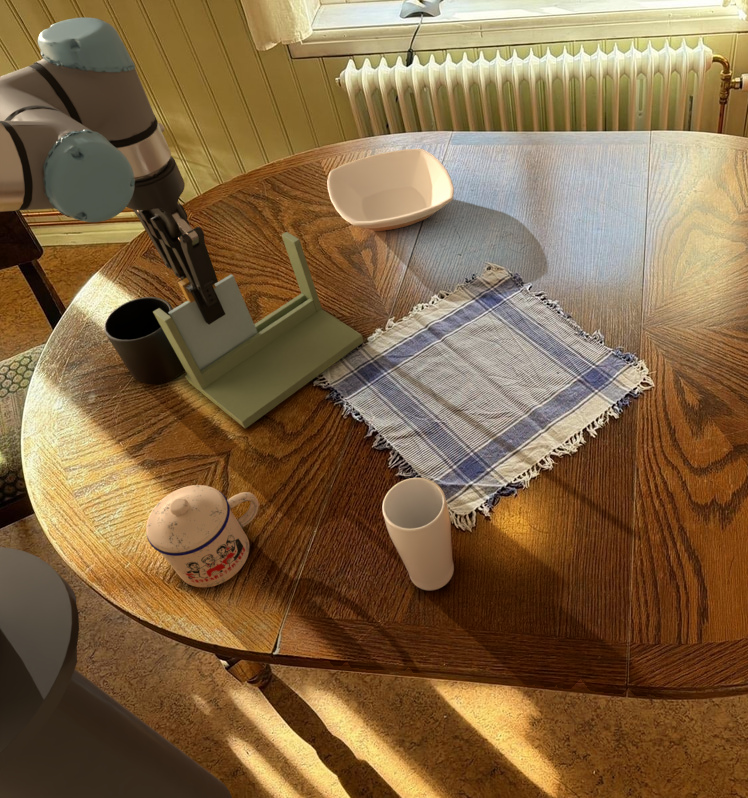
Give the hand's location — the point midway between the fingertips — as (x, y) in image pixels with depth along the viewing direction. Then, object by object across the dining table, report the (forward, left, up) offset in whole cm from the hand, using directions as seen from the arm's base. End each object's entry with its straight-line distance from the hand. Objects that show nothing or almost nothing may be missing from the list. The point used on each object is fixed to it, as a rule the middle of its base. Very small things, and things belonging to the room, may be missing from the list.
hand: (211, 315), depth 104 cm
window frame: (+5, -4, -11) cm, 12 cm away
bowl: (+43, +11, -11) cm, 45 cm away
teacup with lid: (-19, -25, -11) cm, 33 cm away
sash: (0, 0, -9) cm, 9 cm away
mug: (-6, +11, -11) cm, 17 cm away
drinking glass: (-5, -47, -11) cm, 49 cm away
